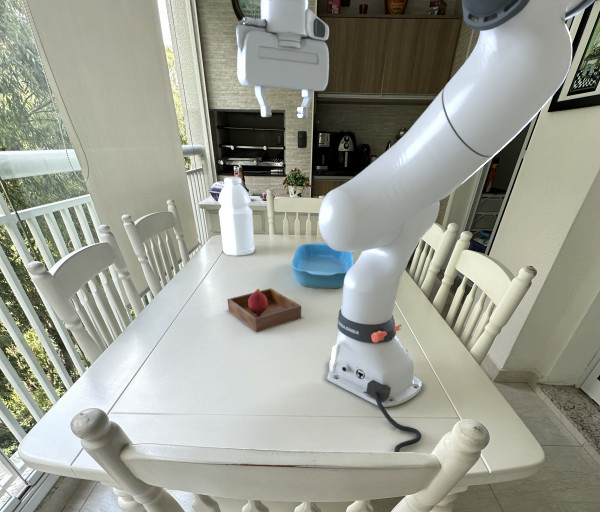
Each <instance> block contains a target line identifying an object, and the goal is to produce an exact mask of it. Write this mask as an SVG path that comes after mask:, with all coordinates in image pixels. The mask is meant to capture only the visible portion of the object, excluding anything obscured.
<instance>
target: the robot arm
mask: <svg viewBox="0 0 600 512" xmlns="http://www.w3.org/2000/svg"><path fill="white" fill-rule="evenodd" d="M595 1H596V0H461V5H462V17H463V20H464V23H465V25H466V26H467V28H469V29H471V30H474V31H477V32H479V35H478V39H477V42H476V44H475V46H474V48H473V50H472V52H471V53H470V55H469V56H468V57H467V59H466V60H465V61H464V63H463V64H462V65H461V66H460V68H459V69H458V70H457V71H456V73H454V75H453V76H452V77H451V78H450V80H449V81H448V82H447V83H446V84H445V86H444V87H443V88H442V89H441V91H440V92H439V93H438V94H437V95H436V97H435V98H434V99H433V100H432V102H431V103H430V104H429V105H428V106H427V108H426V109H425V110H424V111H423V112H422V113H421V115H420V116H419V117H418V118H417V119H416V120H415V122H414V123H413V124H412V126H411V127H410V128H409V129H408V131H406V132H405V134H404V135H403V136H402V137H400V139H399V140H397V141H396V142H395V143H394V144H393V145H392V146H391V147H390V148H388V149H387V150H386V151H385V152H383V153H382V154H381V155H380V156H379V157H377V158H376V159H375V160H374V161H372V162H371V163H370V164H368V166H366V167H364V169H363V170H362V171H360V172H359V173H358V174H356V175H355V176H354V177H352V178H351V179H350V180H348V181H346V182H344V183H343V184H341V185H340V186H337V187H335V188H334V189H332V190H330V191H329V192H328V193H326V195H325V196H324V198H323V199H322V202H321V204H320V207H319V211H318V228H319V232H320V235H321V237H322V239H323V242H324V243H326V244H327V245H328V246H329V247H330V248H331V249H333V250H335V251H343V252H353V253H360V254H359V256H358V258H357V259H356V261H354V265H353V266H352V267H351V268H350V269H349V270H348V272H347V273H346V275H345V278H344V286H342V297H341V308H340V309H339V310H338V316H337V329H338V332H337V335H336V336H337V337H336V341H335V344H334V346H332V351H331V358H330V361H329V363H328V369H329V371H328V374H327V376H326V379H327V381H328V382H330V383H332V384H334V385H336V386H338V387H340V388H341V389H343V390H346V391H347V392H350V393H352V394H353V395H355V396H357V397H359V398H361V399H363V400H365V401H367V402H369V403H371V404H373V405H375V406H377V407H378V409H379V411H380V412H381V413H382V415H383V416H384V417H385V419H386V420H387V421H388V423H390V424H391V425H392V426H394V427H395V428H396V429H398V430H400V431H405V432H409V433H412V434H415V438H412V439H409V440H405V441H402V442H400V443H398V444H397V445H395V447H394V450H393V452H400V450H401V449H402V448H403V449H404V448H405V447H408V446H411V445H415V444H417V443H419V442H420V441H421V440H422V433H421V432H420V430H419V429H416V428H414V427H411V426H406V425H402V424H400V423H398V422H397V421H395V419H393V418H392V416H390V414H389V412H388V411H387V410H386V408H389V407H394V406H398V405H401V404H403V403H405V402H408V401H410V400H411V399H413V398H414V397H416V396H418V394H419V393H420V392H421V390H422V385H423V382H422V381H421V379H420V378H418V377H417V376H416V375H414V374H415V362H414V360H413V358H412V357H411V356H410V354H409V351H408V350H407V348H405V347H404V345H403V344H402V342H401V341H400V339H399V338H398V336H397V332H399V331H400V330H402V328H401V327H402V324H399V325H396V321H395V316H394V315H395V314H394V310H395V306H396V305H395V304H396V300H397V295H398V292H399V291H398V290H399V287H400V284H401V280H402V277H403V274H404V272H405V270H406V268H407V265H408V263H409V261H410V260H411V258H412V255H413V254H414V252H415V250H416V248H417V247H418V244H419V242H421V240H422V238H423V237H424V236H425V235H426V234H427V233H428V231H429V230H430V229H431V228H432V227H433V225H435V223H436V221H437V218H438V215H439V213H440V201H442V200H444V199H445V198H447V197H448V196H451V194H453V193H454V192H455V191H456V190H457V189H458V188H459V187H461V186H462V185H463V184H464V183H465V182H466V181H467V180H468V179H470V178H471V177H472V176H473V175H474V174H475V173H477V171H479V170H480V169H481V168H482V167H483V166H484V165H485V164H487V163H488V162H489V161H490V160H491V159H493V158H494V157H495V156H496V155H497V154H498V153H499V152H500V151H502V150H503V149H504V148H505V147H506V146H507V145H508V144H509V143H510V142H512V141H513V140H514V139H515V138H516V136H518V134H520V132H522V130H524V128H526V126H527V125H528V124H529V123H530V122H531V121H532V120H533V119H534V118H535V117H536V116H537V114H539V112H540V111H541V110H542V109H543V108H544V106H546V104H547V103H548V102H549V101H550V100H551V99H552V97H553V96H554V95H555V94H556V92H557V91H558V90H559V89H560V88H561V86H562V85H563V83H564V81H565V80H566V78H567V76H568V74H569V71H570V68H571V64H572V60H573V43H572V37H571V33H570V30H569V29H568V27H567V24H566V23H565V22H566V20H569V19H571V18H573V17H576V15H579V14H580V13H581V12H583V11H584V10H585V9H587V8H588V7H589V6H590V5H592V4H593V3H595ZM472 19H475V20H477V21H475V20H472ZM235 31H236V33H235V34H236V45H237V59H236V60H237V61H236V71H237V72H236V73H237V75H236V76H237V79H238V81H239V84H240V85H241V86H242V87H251V88H252V87H254V94H255V95H254V96H255V97H256V99H257V102H258V103H259V106H260V116H261V117H262V118H272V116H273V115H272V105H268V101H267V99H266V96H265V95H267V88H268V89H279V90H281V89H282V90H293V91H295V90H296V91H301V97H302V98H303V100H302V102H301V105H300V106H298V107H297V118H299V119H307V118H308V116H309V107H310V105H311V102H312V100H313V97H314V92H324V91H325V90H326V88H327V86H328V84H329V72H330V71H329V70H330V57H329V56H330V53H329V47H328V44H327V43H326V42H325V41H327V40H328V39H329V36H330V28H329V25H328V24H327V23H326V22H324V20H322V19H321V18H320V17H318V15H316V14H315V13H314V12H313V11H312V10H311V9H310V8H309V0H260V18H251V17H250V16H243V17H242V19H241V20H239V21H238V23H237V25H236V29H235Z"/></svg>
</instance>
